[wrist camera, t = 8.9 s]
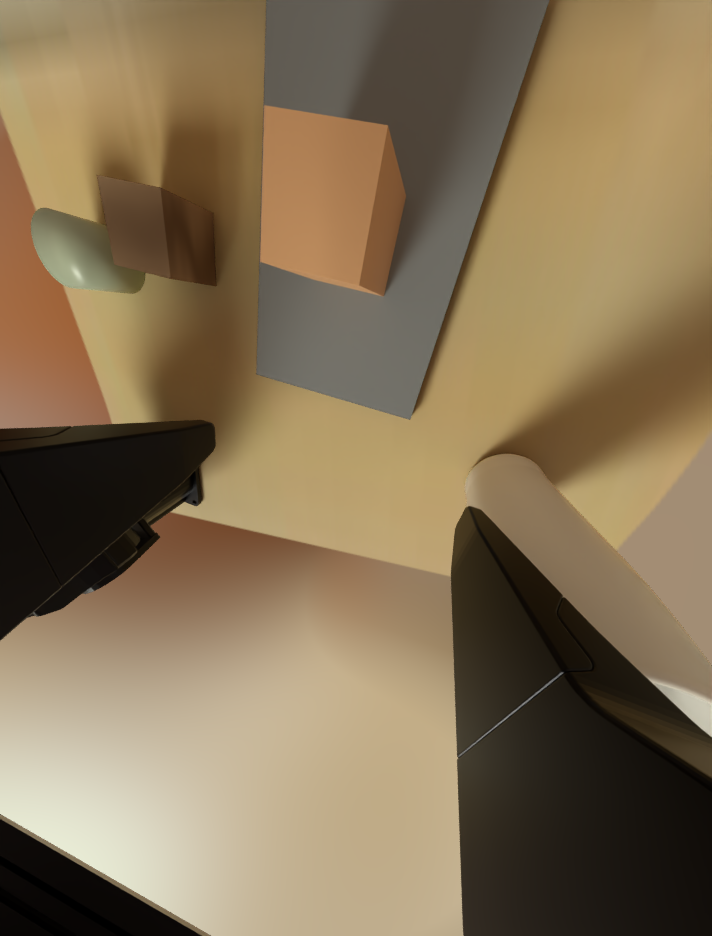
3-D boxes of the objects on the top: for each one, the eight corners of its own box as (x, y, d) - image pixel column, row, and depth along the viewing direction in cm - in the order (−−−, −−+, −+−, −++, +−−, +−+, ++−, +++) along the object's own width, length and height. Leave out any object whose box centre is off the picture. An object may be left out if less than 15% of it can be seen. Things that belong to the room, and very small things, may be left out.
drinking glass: (550, 518, 21) (722, 820, 8) (456, 520, 23) (479, 761, 11) (558, 435, 18) (832, 696, 6) (451, 445, 21) (471, 650, 8)
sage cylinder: (149, 298, 22) (94, 294, 18) (106, 287, 22) (45, 280, 19) (139, 233, 19) (76, 214, 16) (92, 222, 20) (20, 201, 17)
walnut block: (217, 286, 20) (170, 278, 16) (168, 274, 20) (114, 264, 17) (213, 213, 18) (160, 187, 14) (160, 202, 18) (96, 174, 15)
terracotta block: (383, 296, 17) (358, 285, 11) (313, 279, 17) (260, 261, 12) (406, 195, 14) (387, 125, 9) (324, 180, 15) (264, 105, 10)
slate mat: (411, 415, 20) (410, 419, 19) (263, 372, 22) (256, 374, 21) (548, 2, 11) (557, -24, 10) (279, -26, 13) (267, -50, 12)
